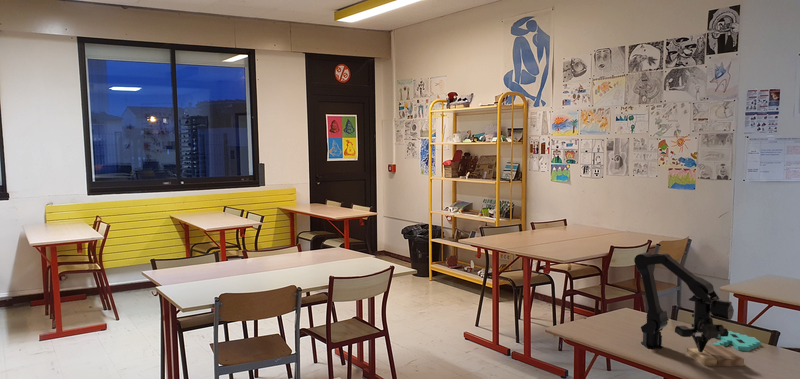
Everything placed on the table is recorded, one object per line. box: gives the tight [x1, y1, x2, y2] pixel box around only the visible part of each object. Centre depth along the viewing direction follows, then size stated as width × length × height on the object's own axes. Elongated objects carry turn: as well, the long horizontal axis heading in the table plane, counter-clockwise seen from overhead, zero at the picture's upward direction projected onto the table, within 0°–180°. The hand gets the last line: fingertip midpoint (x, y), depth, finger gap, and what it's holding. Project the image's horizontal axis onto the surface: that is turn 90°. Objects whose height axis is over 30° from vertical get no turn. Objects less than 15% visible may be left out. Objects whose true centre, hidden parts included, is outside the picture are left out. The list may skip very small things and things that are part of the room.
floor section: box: [704, 344, 745, 367], centre depth 219 cm, size 10×14×3 cm
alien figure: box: [712, 330, 762, 352], centre depth 238 cm, size 20×2×20 cm
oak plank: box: [686, 346, 717, 367], centre depth 218 cm, size 12×5×3 cm, turn 3°
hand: (700, 352), depth 218 cm, fingers closed
